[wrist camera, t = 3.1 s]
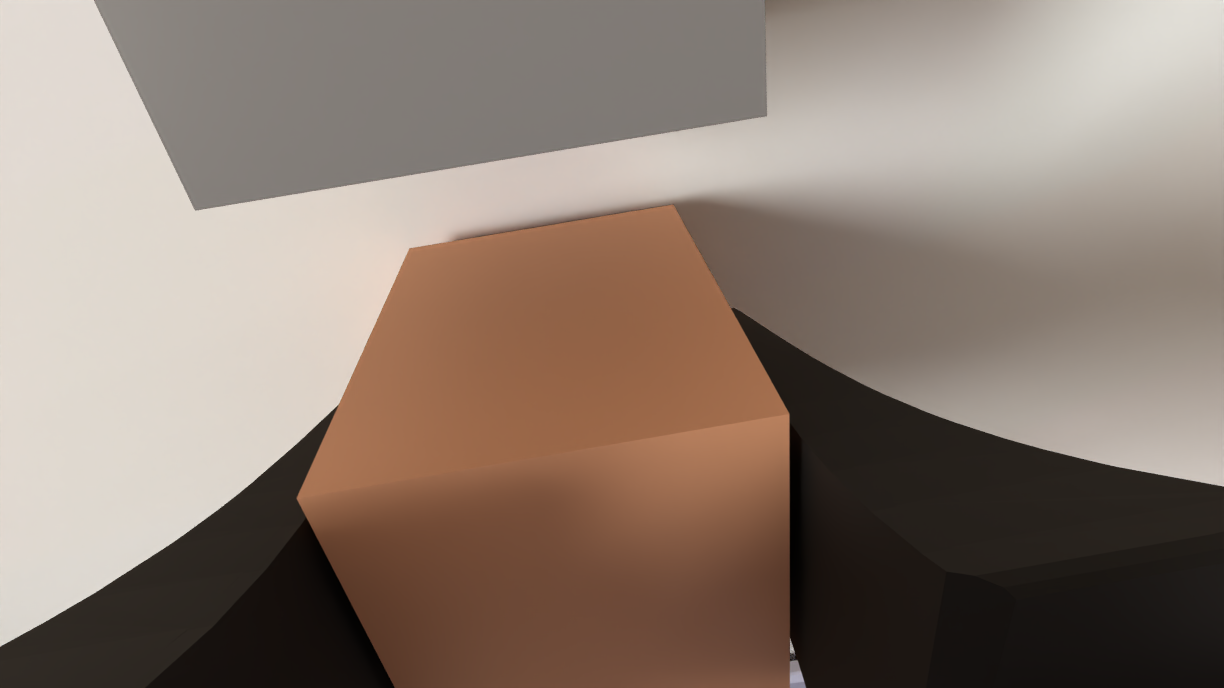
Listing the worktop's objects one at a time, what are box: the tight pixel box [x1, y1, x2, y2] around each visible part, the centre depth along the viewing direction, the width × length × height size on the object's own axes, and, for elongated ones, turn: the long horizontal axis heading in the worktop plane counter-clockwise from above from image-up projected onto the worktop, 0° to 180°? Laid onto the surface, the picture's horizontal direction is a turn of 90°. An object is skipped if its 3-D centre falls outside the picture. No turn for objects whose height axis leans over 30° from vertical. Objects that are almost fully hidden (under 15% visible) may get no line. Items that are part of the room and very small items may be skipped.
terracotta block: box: [297, 205, 790, 688], centre depth 10 cm, size 4×4×6 cm
